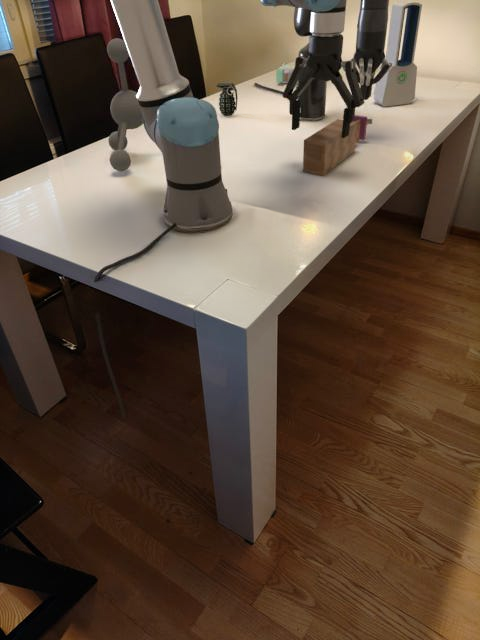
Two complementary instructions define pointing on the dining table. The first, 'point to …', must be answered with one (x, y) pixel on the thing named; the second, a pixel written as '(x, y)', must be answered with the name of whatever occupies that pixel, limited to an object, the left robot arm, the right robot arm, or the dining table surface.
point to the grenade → (227, 99)
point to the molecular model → (122, 109)
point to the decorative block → (285, 72)
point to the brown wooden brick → (328, 148)
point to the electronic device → (403, 72)
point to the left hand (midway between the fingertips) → (319, 132)
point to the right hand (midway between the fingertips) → (364, 99)
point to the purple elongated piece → (361, 126)
